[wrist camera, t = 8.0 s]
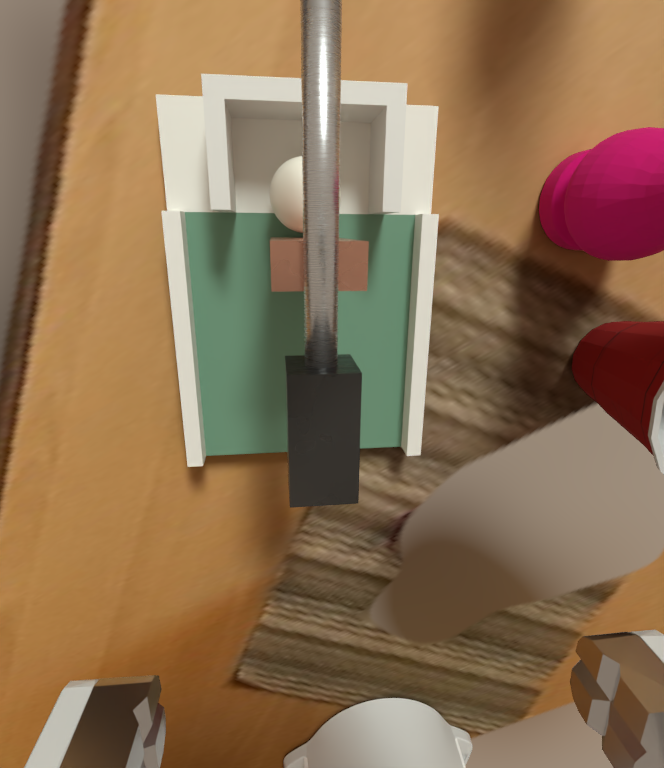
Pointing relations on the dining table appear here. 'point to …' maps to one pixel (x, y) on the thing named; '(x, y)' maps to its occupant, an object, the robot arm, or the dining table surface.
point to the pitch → (259, 223)
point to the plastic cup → (627, 377)
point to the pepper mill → (609, 197)
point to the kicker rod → (321, 285)
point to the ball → (289, 194)
